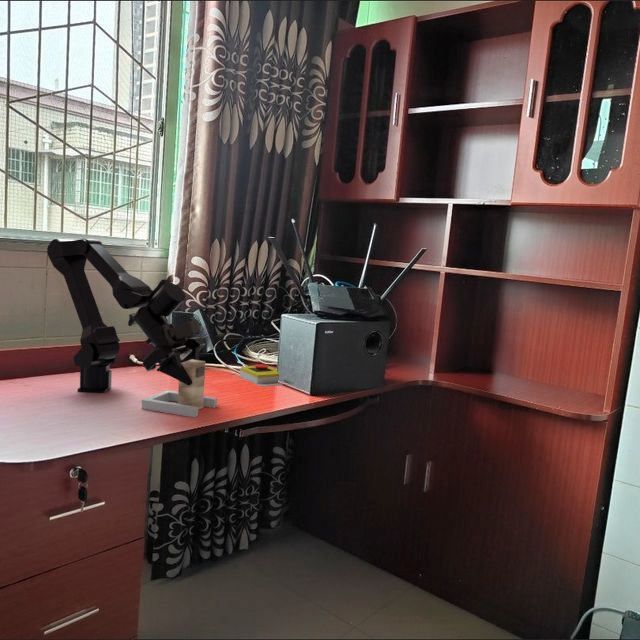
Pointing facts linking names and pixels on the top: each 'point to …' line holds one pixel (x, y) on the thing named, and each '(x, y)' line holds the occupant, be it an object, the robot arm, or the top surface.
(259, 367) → the emergency button
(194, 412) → the shallow open frame
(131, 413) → the top surface
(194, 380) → the beige rectangular block
